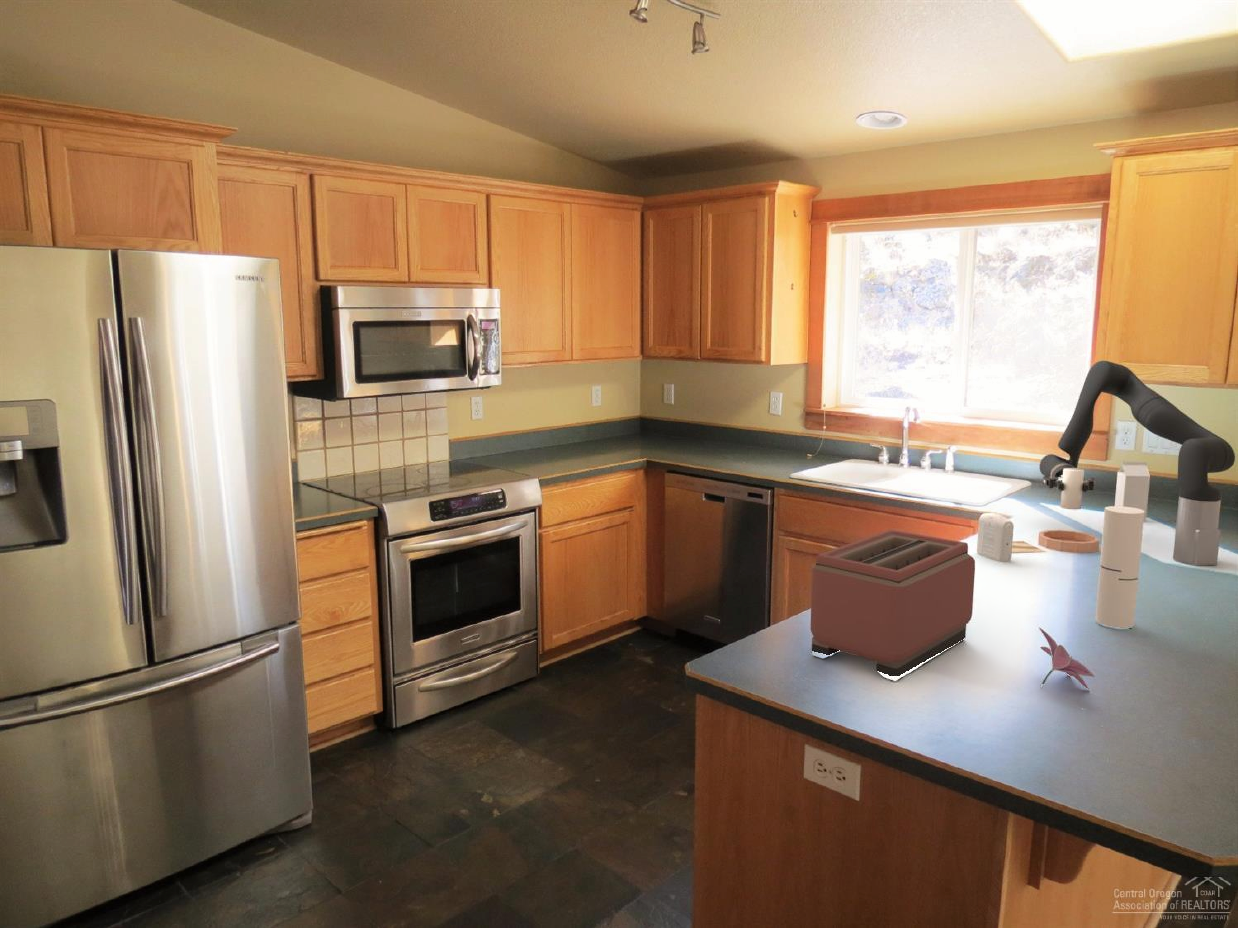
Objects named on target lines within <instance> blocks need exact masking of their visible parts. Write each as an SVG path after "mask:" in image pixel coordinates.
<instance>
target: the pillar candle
mask: <svg viewBox="0 0 1238 928" xmlns="http://www.w3.org/2000/svg"><path fill="white" fill-rule="evenodd" d="M1084 475H1085V469H1082V468H1078V467H1077V468H1064V469H1063V480H1062V482H1063V483H1064V489H1063V491H1061V495H1060V506H1059V507H1060V508H1062V509H1066V510H1073V511H1075V510H1081V509H1082V499H1083V491H1082V490H1083V478H1084V479H1085V477H1084Z"/></svg>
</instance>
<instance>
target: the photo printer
mask: <svg viewBox="0 0 1238 928" xmlns="http://www.w3.org/2000/svg"><path fill="white" fill-rule="evenodd" d="M977 527H978V528H977V529H978V530H977V531H978V532H977V542H976V544H977V546H976V553H977V554H978V555H980V556H982V557H986V558H988V559H990V558H991V560H993V561H997V562H1000V563H1007V562H1008V563H1009V562H1010V561H1011V560H1012V554H1013V553H1012V542H1013V541H1014V539H1013V537H1014V523H1013V522H1012V521H1011V520H1010V519H1009V518H1007V517H1006V516H1004V515H1001V514H999V513H995V512H988V513H987V512H986V513H982V514H981V515H980V516H979V519H978V526H977Z"/></svg>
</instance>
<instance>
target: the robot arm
mask: <svg viewBox="0 0 1238 928" xmlns="http://www.w3.org/2000/svg"><path fill="white" fill-rule="evenodd" d="M1102 393H1105V394H1108V395H1110V396H1111V395H1112V396H1114V397H1117V399H1120V400H1121V401H1123V402H1124V403H1126V404H1127V405H1128V406H1129V407H1130V412H1131V414H1132V416H1133V418H1134V420H1136V422H1137V423H1139V424H1140V425H1141V426H1142V427H1144V428H1145V430H1147V431H1149V432H1150V433H1152V434H1154V435H1156V436H1158V437H1161V438H1163V439H1165V440H1168V441H1171V442H1174V443H1176V444H1179V445H1181V446H1180V448H1179V451H1178V457H1177V458H1178V459H1177V487H1178V491H1179V496H1178V503H1177V504H1178V505H1177V513H1176V522H1175V534H1174V545H1173V555H1172V559H1173V558H1174V559H1173V560H1175V561H1177V562H1179V561H1180V563H1183V564H1188V563H1191V564H1190V565H1193V564H1194V565H1193V566H1214V565H1215V566H1216V565H1218V559H1219V558H1218V557H1219V549H1220V539H1221V532H1222V531H1221V530H1220V529H1219V521H1220V520H1219V519H1220V513H1221V512H1220V511H1221V502H1222V495H1223V492H1222V489H1221V488H1219V487H1216V486H1215V485H1212V484H1210V483H1209V479H1208V478H1209V476H1208V475H1209V474H1213V473H1221V472H1226V471H1228V470H1230V469H1231V468H1232V467H1233V466H1234V464H1235V460H1236V454H1235V451H1234V449H1233V447H1232V446H1231V445H1230V443H1229V442H1228V441H1227V440H1226V439H1224V438H1222V437H1221V436H1219V435H1217V434H1216V433H1214V432H1212V431H1211V430H1208V428H1207V429H1206V428H1205V427H1203V426H1202V425H1200V424H1199V423H1197V422H1196V421H1195V420H1194V419H1192V418H1191V417H1189V415H1187V414H1186V413H1184V412H1183V411H1181V410H1180V409H1179V408H1178V407H1177V406H1176V405H1174V404H1173V403H1172V402H1170V400H1168V399H1167V398H1165V397H1163V396H1162V395H1160V394H1159V393H1158V392H1156V391H1155V390H1154V389H1152V388H1150V387H1149V386H1147V385H1146V384H1145V383H1144V382H1143V381H1141V379H1139V378H1138V376H1137V375H1136V374H1135V373H1134V372H1133V371H1132V370H1131V369H1130V368H1129V367H1127V366H1126V365H1125V366H1124V365H1123V364H1119V363H1116V362H1113V361H1112V362H1111V361H1109V360H1108V361H1107V360H1099V361H1096V362H1095V363H1094V364H1093V365H1092V366H1091V367H1090V369H1089V370H1088V372H1087V374H1086V377H1085V379H1084V382H1083V385H1082V387H1081V391H1080V394H1079V397H1078V399H1077V402H1076V406H1075V409H1074V411H1073V414H1072V416H1071V417H1070V418H1071V419H1070V421H1069V422H1068V424H1067V426H1066V429H1065V430H1064V432H1063V434H1062V435H1061V436H1060V440H1059V441H1058V443H1057V446H1058V448H1059V449H1060V450H1061V451H1063V452H1064V453H1066V454H1067V455H1069V459H1066V458H1063V457H1062V456H1058V455H1056V454H1052V453H1049V454H1047V455H1045V456H1043V458H1041V460H1040V462H1039V472H1040V473H1041V475H1043V479H1042V485H1043V486H1045V487H1047V488H1048V489H1053V488H1055V489H1056V490H1058V491H1060V492H1062V491H1063V489H1064V483H1063V482H1062V480H1063V469H1064V468H1077V469H1078V465H1079V460H1080V457H1081V454H1082V452H1083V450H1084V448H1085V446H1086V444H1087V443H1088V441H1089V439H1090V437H1091V435H1092V432H1093V429H1094V413H1095V406H1096V402H1097V401H1098V398H1099V397H1100V396H1101V394H1102ZM1095 487H1096V478H1094V477H1093V478H1088V480H1086V479H1085V477H1084V478H1083V490H1082V493H1087V491H1094V490H1095Z"/></svg>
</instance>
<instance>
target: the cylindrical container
mask: <svg viewBox="0 0 1238 928" xmlns="http://www.w3.org/2000/svg"><path fill="white" fill-rule="evenodd" d="M1144 522H1145V521H1144V511H1143V510H1141V509H1137V508H1132V507H1123V506H1115V505H1113V506H1112V505H1111V506H1105V507H1104V512H1103V525H1102V535H1101V536H1102V537H1101V547H1100V548H1101V549H1100V559H1099V573H1098V585H1097V596H1096V605H1095V606H1096V607H1095V608H1096V609H1095V618H1094V619H1096V621H1097V622H1098V623H1101V624H1105V625H1107V626H1112V627H1120V628H1127V627H1132V626H1133V625H1134V626H1135V616H1136V604H1137V594H1138V584H1139V583H1138V582H1139V573H1140V563H1141V562H1140V561H1141V552H1142V541H1143V531H1144V530H1143V529H1144Z"/></svg>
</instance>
